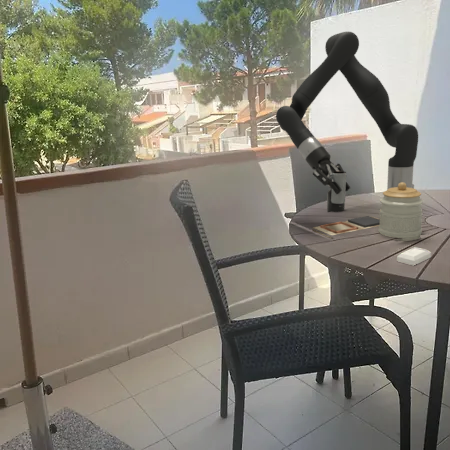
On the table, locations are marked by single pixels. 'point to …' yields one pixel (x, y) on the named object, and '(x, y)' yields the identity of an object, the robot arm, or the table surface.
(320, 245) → the table surface
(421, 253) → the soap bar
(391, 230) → the jar
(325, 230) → the board
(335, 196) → the grey tumbler
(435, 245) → the table surface
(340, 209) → the supplement bottle
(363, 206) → the table surface
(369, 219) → the pad
